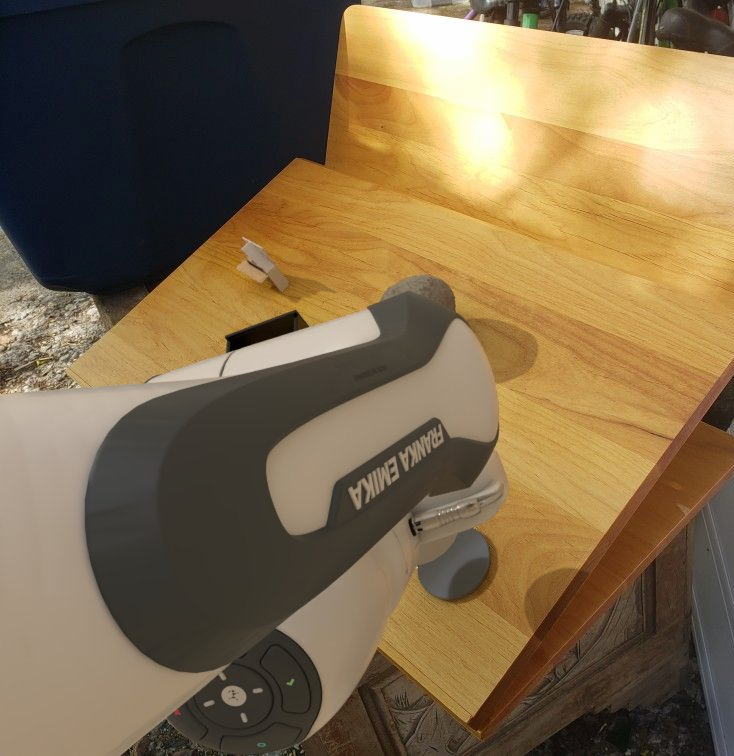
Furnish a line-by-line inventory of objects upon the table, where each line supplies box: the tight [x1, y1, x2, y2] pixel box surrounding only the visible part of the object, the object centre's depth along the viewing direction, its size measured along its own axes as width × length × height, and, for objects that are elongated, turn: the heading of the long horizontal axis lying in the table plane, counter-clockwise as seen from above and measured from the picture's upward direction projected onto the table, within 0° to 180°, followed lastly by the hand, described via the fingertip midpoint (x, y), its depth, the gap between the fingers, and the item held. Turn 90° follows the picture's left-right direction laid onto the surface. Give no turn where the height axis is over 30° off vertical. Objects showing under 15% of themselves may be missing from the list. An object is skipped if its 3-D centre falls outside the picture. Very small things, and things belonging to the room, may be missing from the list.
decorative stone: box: [378, 274, 457, 313], centre depth 83 cm, size 10×8×10 cm
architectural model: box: [236, 236, 290, 293], centre depth 101 cm, size 3×7×7 cm, turn 49°
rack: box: [224, 309, 310, 354], centre depth 89 cm, size 15×11×4 cm
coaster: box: [416, 527, 492, 601], centre depth 68 cm, size 8×8×1 cm
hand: (394, 489), depth 57 cm, fingers closed on can, 7 cm apart
